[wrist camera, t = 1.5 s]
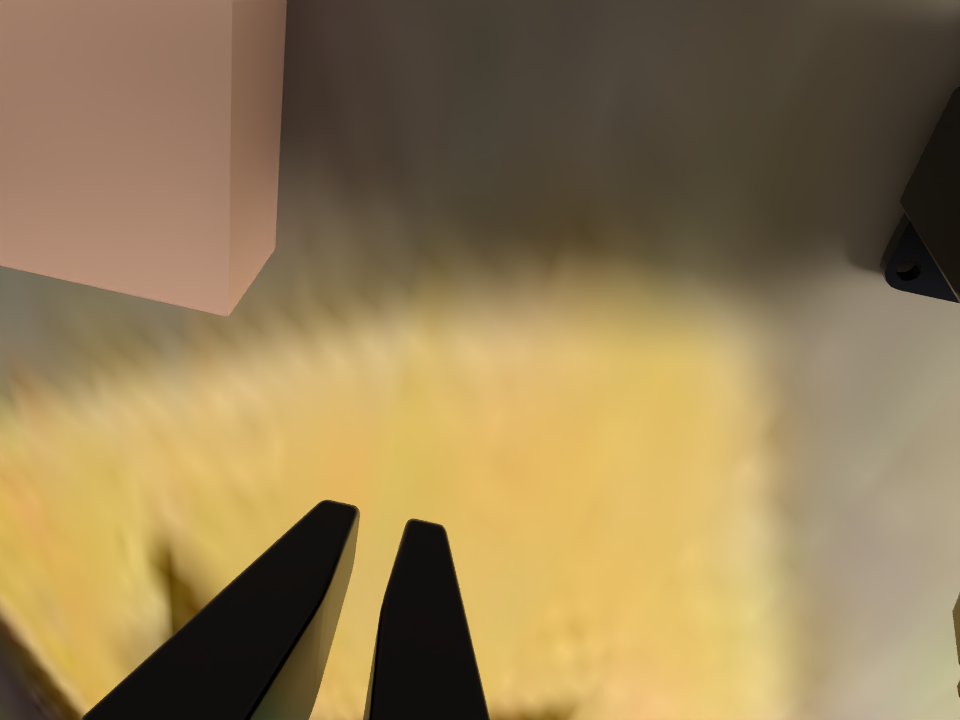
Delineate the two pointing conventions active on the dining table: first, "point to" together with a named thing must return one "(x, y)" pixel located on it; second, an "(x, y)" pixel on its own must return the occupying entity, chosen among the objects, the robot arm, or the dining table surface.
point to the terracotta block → (142, 144)
